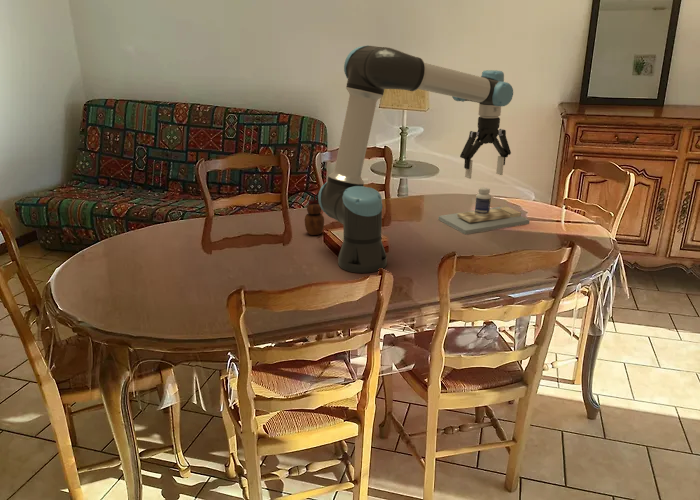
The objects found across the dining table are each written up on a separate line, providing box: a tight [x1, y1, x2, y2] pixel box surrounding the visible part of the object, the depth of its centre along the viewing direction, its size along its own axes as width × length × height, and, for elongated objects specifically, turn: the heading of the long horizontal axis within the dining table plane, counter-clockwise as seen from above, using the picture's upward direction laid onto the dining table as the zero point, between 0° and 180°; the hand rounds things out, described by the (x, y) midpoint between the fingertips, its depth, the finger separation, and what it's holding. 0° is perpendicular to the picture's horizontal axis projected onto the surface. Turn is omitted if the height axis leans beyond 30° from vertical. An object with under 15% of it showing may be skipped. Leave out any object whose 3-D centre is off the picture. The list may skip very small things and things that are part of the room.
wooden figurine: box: [304, 192, 325, 236], centre depth 207 cm, size 7×6×15 cm
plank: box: [457, 209, 510, 223], centre depth 220 cm, size 18×8×1 cm, turn 114°
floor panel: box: [437, 206, 530, 235], centre depth 220 cm, size 28×18×3 cm, turn 113°
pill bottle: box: [474, 186, 492, 216], centre depth 217 cm, size 5×5×10 cm
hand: (483, 176), depth 214 cm, fingers open, 13 cm apart
